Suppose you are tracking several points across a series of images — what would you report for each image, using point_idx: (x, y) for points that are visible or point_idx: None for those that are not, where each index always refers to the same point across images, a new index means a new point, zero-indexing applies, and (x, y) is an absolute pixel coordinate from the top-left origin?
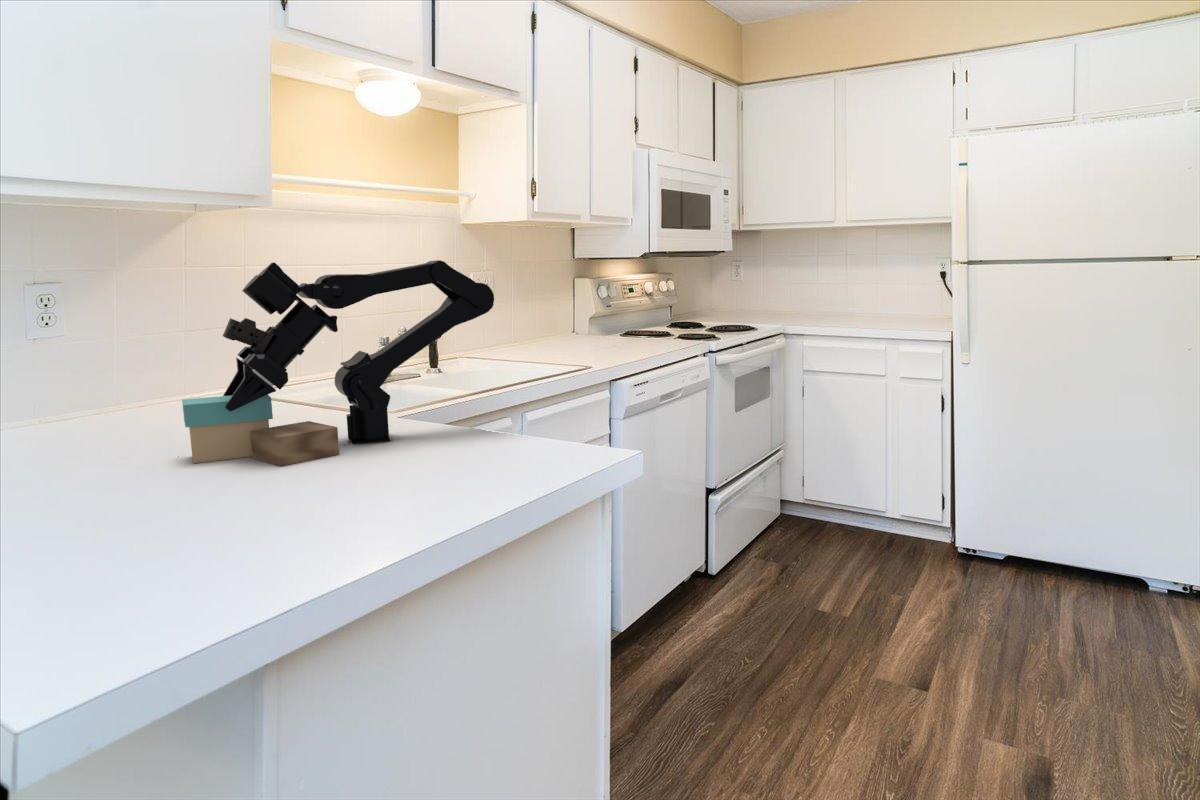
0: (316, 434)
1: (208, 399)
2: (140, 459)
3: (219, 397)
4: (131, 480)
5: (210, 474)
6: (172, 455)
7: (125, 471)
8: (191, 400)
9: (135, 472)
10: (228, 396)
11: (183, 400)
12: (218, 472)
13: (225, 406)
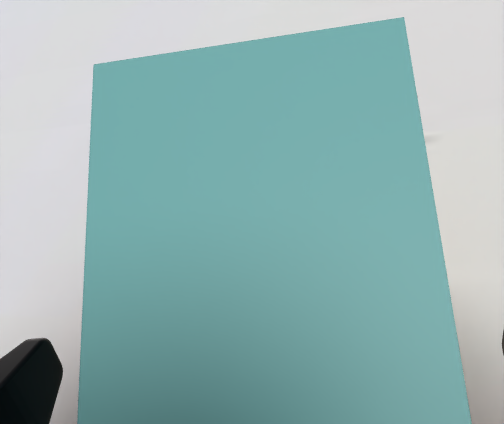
0: None
1: (284, 208)
2: (427, 18)
3: (371, 294)
4: (94, 52)
5: (28, 271)
6: (454, 116)
7: (236, 12)
8: (302, 88)
9: (203, 42)
10: (400, 377)
11: (339, 34)
12: (41, 297)
13: (28, 340)
